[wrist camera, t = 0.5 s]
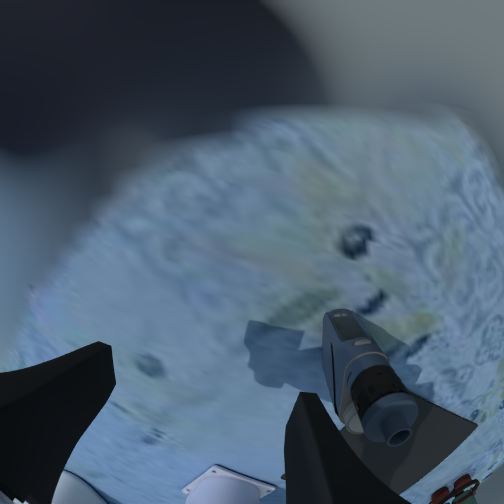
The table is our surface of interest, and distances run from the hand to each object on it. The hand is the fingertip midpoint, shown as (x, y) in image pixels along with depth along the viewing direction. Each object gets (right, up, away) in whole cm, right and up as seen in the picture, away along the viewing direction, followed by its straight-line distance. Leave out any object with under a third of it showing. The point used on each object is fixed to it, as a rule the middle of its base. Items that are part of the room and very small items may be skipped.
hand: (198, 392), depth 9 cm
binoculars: (+35, -35, +13) cm, 51 cm away
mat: (+18, -18, +12) cm, 28 cm away
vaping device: (+8, -1, +10) cm, 13 cm away
